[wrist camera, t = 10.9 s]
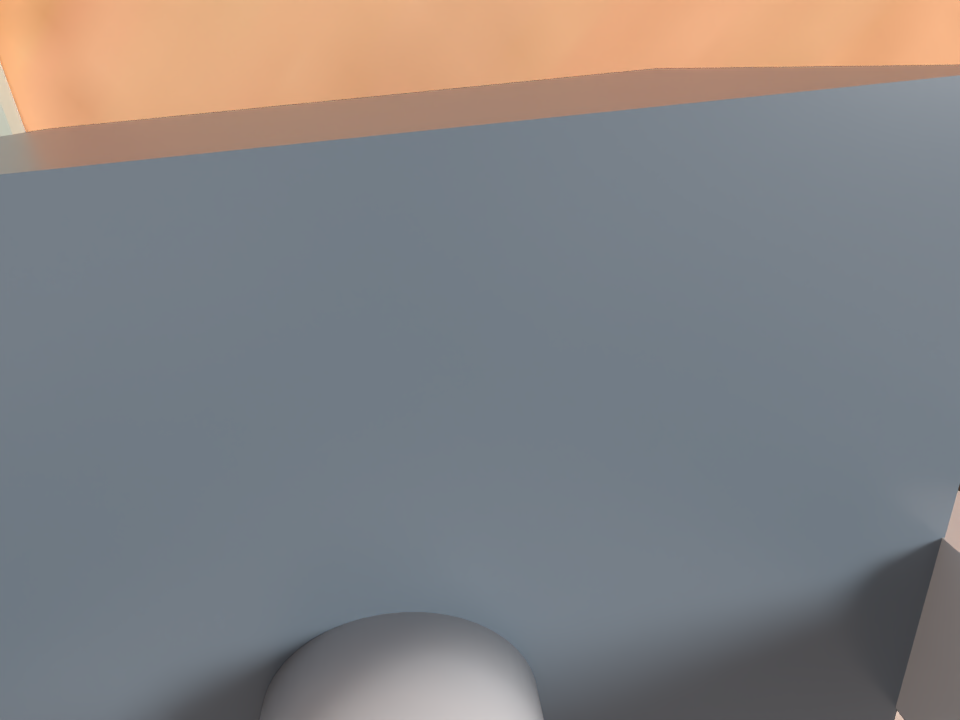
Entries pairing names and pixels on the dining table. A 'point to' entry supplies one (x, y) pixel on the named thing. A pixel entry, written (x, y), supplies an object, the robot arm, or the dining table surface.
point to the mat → (8, 110)
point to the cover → (483, 401)
